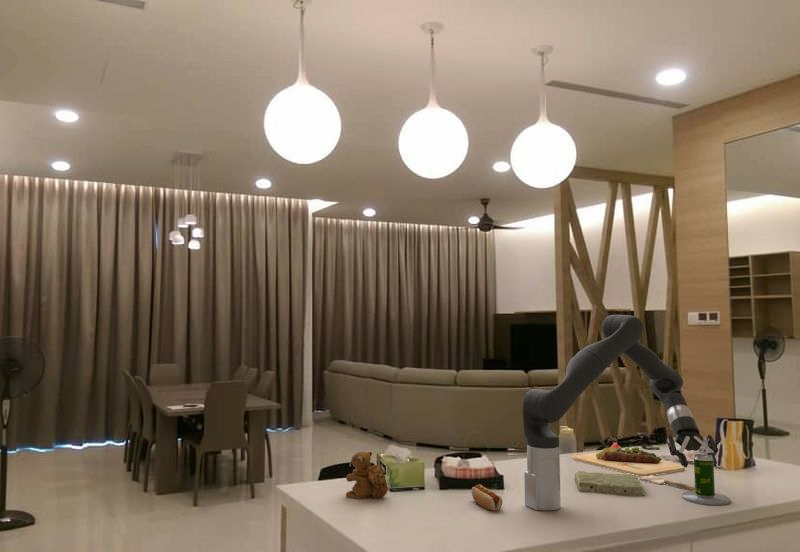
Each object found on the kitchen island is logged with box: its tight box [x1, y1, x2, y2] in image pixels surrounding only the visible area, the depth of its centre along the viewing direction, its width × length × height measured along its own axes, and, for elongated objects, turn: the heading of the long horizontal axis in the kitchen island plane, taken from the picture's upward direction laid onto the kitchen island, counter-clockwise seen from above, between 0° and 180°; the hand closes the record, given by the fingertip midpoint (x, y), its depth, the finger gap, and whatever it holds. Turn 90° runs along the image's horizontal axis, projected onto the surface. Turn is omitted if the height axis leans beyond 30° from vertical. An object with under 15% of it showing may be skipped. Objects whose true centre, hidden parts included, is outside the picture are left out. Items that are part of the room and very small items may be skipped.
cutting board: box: [571, 442, 686, 477], centre depth 238 cm, size 35×23×8 cm
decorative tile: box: [574, 470, 645, 496], centre depth 204 cm, size 19×20×4 cm
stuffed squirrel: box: [345, 451, 390, 500], centre depth 193 cm, size 10×14×13 cm
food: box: [471, 483, 503, 512], centre depth 183 cm, size 14×6×5 cm, turn 18°
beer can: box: [693, 453, 716, 498], centre depth 190 cm, size 5×5×12 cm
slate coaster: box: [681, 490, 731, 506], centre depth 190 cm, size 13×13×1 cm
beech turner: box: [639, 475, 695, 491], centre depth 206 cm, size 22×6×1 cm, turn 30°
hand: (700, 466), depth 194 cm, fingers open, 8 cm apart
